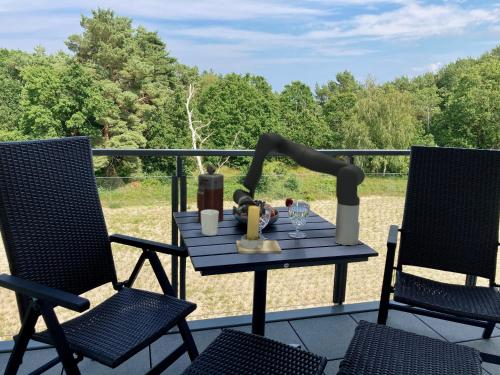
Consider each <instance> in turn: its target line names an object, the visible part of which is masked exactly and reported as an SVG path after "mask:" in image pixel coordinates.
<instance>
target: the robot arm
mask: <svg viewBox="0 0 500 375" xmlns="http://www.w3.org/2000/svg"><path fill="white" fill-rule="evenodd" d="M269 153H277V154H281V155H284V156H286V157H289V158H290V160H292V161H293V162H294V163H295V164H297V165H298V166H300V167H301V168H304V169H306V170H309V171H312V172H315V173H318V174H319V173H320V174H325V175H329V176H332V177H335V178H336V184H335V185H336V186H335V195H336V196H335V197H336V198H337V200H336V202H337V203H336V213H335V214H336V215H335V226H334V227H335V228H334V243H335V242H336V243H335V244H337V243H338V244H337V245H340V244H342V245H341V246H346V245H351V246H355V245H359V237H360V236H359V235H360V226H361V222H360V221H359V214H360V213H359V212H360V202H361V199H360V196H359V195H358V186H360V185H362V183H363V182H364V181H365V178H366V176H365V172H364V170H363V169H362V168H361V167H360V166H358V165H356V164H353V163H348V162H346V161H342V160H339V159H336V158H334V157H332V156H330V155H328V154H325V153H324V152H321V151H319V150H317V149H315V148H312V147H310V146H306V145H304V144H301V143H298V142H295V141H292V140H290V139H289V138H287V137H285V136H283V135H281V134H280V133H277V132H274V131H273V132H264V133H261V134H260V135H259V137H258V139H257V142H256V145H255V149H254V152H253V156H252V160H251V163H250V165H249V168H248V170H247V172H246V175H245V177H244V179H243V180H242V186H243V187H244V188H245V189H247V190H248V191H247V190H245V189H242V188H237V189H235V190H234V192H233V193H232V200H233V202H234V203H235V204H236V205H237V206H238V207H237V206H236V205H232V215H233V216H235V215H236V216H238V217H239V218H241V217H242V216H247V217H248V210H249V206H257V205H256V203H255V194H256V189H257V187H258V184H259V183H260V181H261V178H262V175H263V169H264V162H265V160H266V158H268V155H269ZM259 207H260V211H259V218H262V216H264V215H266V208H265V207H264V205H260V206H259Z"/></svg>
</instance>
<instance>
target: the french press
mask: <svg viewBox="0 0 500 375" xmlns="http://www.w3.org/2000/svg"><path fill="white" fill-rule="evenodd" d="M205 169H206V172H207V173H201V174H198V177H197V182H198V183H197V192H196V208H197V222H198V223H201V211H203V210H217V211H218V212H219V215H218V224H219V223H221V222H223V221H224V196H225V195H224V189H225V188H224V187H225V182H224V180H225V179H224V178H225V176H224V174H220V173H216V171H217V168H216V166H215V165H214V164H208V165H207V166H206V168H205Z"/></svg>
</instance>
